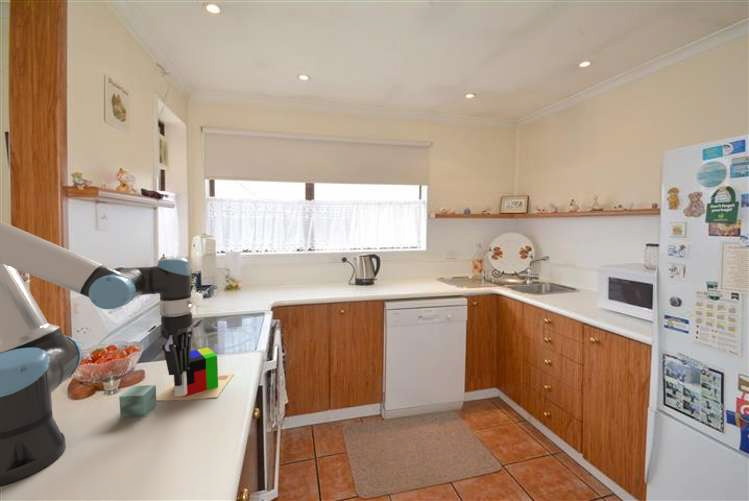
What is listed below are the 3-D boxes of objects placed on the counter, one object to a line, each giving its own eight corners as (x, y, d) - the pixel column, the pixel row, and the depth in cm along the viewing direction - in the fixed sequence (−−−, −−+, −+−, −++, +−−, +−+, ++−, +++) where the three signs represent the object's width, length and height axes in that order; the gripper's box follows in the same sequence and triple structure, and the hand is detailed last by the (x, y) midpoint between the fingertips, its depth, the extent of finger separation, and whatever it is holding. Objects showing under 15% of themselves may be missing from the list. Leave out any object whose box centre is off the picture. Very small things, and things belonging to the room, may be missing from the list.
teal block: (120, 418, 90) (119, 396, 90) (134, 406, 96) (132, 386, 95) (144, 416, 91) (143, 395, 90) (156, 405, 97) (155, 384, 96)
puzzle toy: (175, 385, 108) (173, 354, 107) (208, 376, 114) (207, 347, 113) (182, 397, 100) (181, 364, 99) (218, 386, 107) (217, 355, 106)
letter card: (152, 401, 98) (152, 400, 98) (178, 377, 114) (178, 376, 114) (217, 397, 100) (217, 396, 100) (233, 374, 116) (233, 373, 116)
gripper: (179, 319, 88) (184, 405, 90) (200, 307, 101) (204, 383, 103) (149, 320, 88) (154, 407, 89) (174, 308, 101) (178, 384, 102)
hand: (181, 394), depth 96 cm, fingers closed
